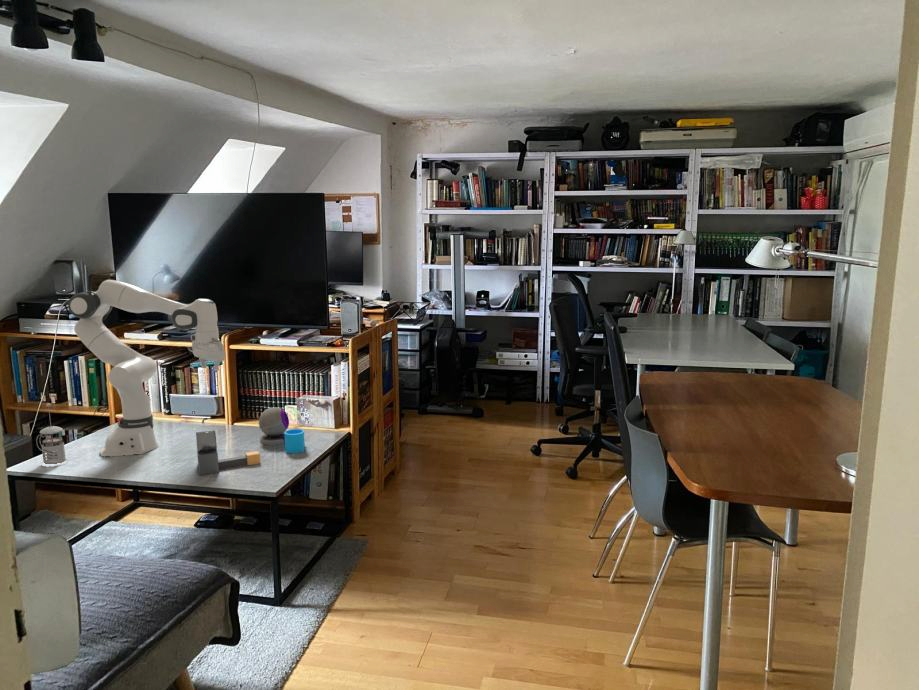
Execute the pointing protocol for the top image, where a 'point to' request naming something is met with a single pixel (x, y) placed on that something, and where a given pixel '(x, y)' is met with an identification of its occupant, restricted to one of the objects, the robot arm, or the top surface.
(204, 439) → the block
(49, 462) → the french press
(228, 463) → the plug
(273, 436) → the webcam
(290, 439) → the mug
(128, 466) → the top surface
